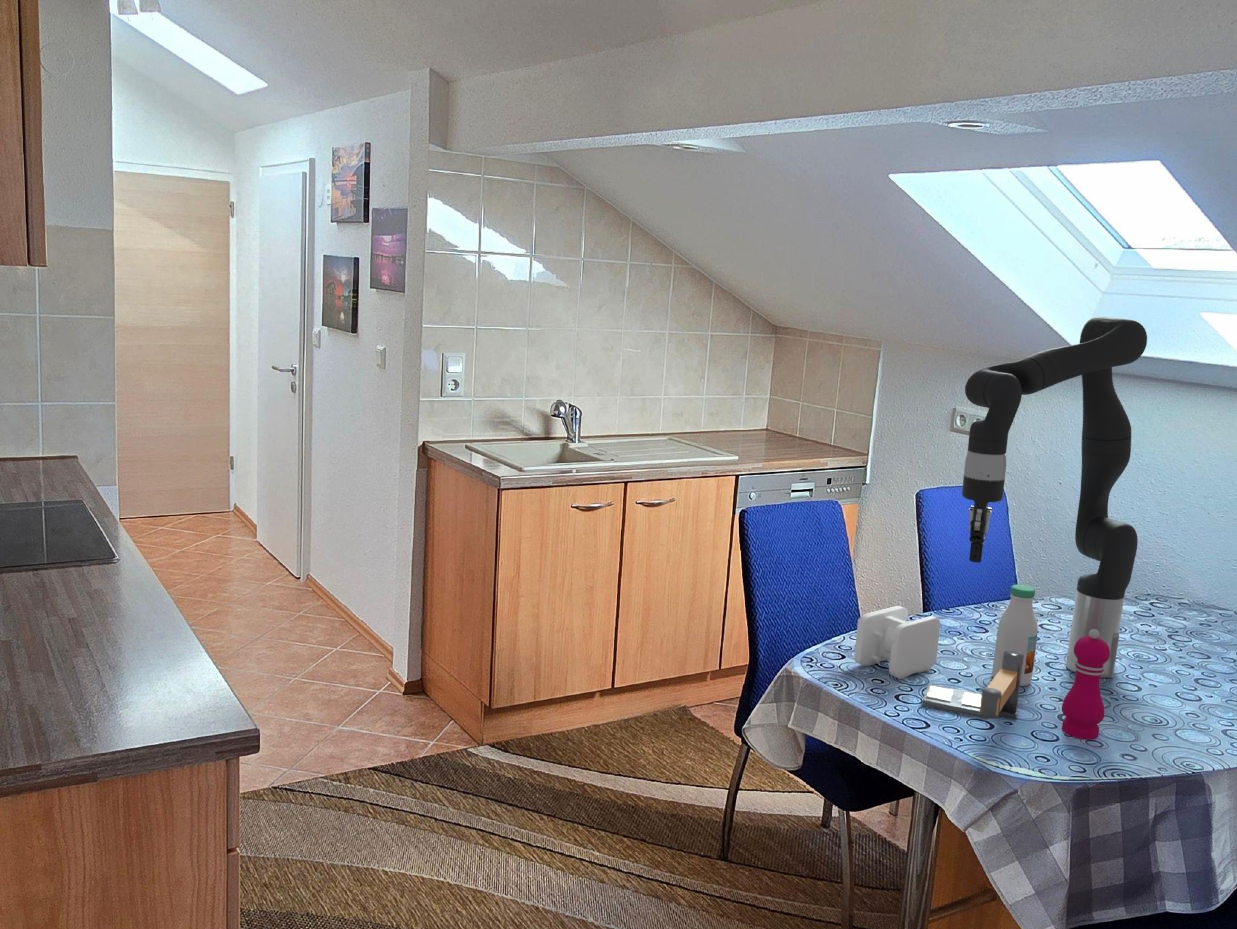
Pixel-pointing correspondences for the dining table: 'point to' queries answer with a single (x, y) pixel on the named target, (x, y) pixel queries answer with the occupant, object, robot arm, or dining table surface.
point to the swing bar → (997, 693)
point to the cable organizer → (897, 641)
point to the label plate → (952, 700)
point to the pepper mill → (1086, 689)
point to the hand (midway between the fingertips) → (975, 561)
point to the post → (1015, 663)
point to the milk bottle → (1018, 631)
